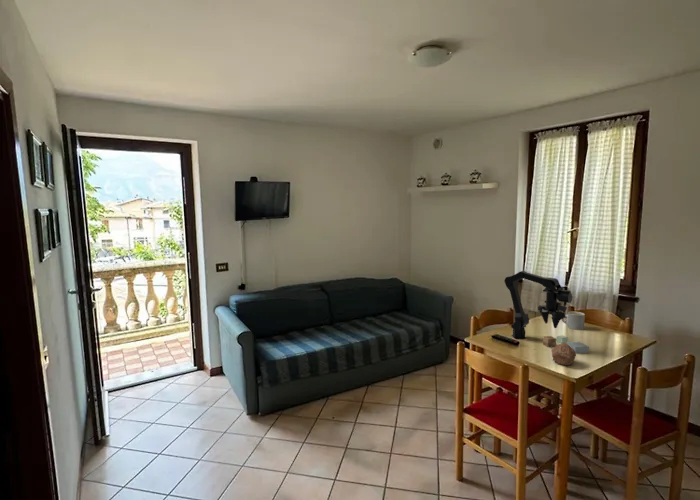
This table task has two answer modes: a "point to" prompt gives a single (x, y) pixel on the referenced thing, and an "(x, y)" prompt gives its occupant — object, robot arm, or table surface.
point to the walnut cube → (549, 341)
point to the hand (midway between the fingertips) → (550, 325)
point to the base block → (579, 347)
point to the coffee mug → (575, 320)
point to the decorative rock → (563, 354)
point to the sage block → (562, 339)
